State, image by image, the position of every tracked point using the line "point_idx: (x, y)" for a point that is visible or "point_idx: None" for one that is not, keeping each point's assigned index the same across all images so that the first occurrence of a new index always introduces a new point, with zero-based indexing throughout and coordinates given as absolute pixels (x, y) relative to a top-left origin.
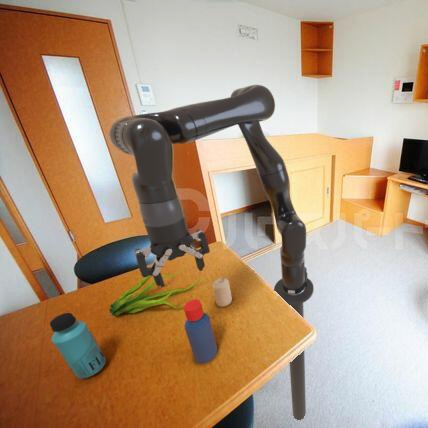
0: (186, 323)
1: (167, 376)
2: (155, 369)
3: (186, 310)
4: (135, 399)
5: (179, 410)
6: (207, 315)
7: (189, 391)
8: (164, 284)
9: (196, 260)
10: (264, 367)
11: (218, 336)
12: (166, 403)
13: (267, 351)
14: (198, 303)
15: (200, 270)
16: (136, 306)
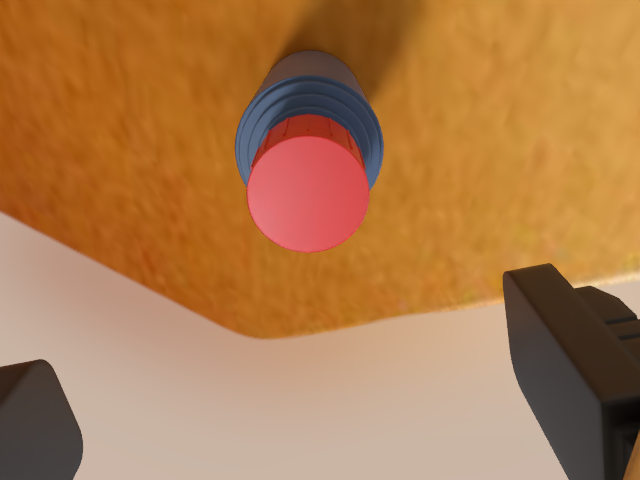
0: (249, 160)
1: (152, 128)
2: (99, 64)
3: (263, 230)
4: (46, 162)
5: (198, 280)
6: (376, 146)
7: (232, 235)
8: (73, 477)
9: (573, 420)
10: (500, 291)
11: (381, 34)
12: (156, 236)
13: (543, 236)
14: (352, 203)
15: (523, 389)
16: None
